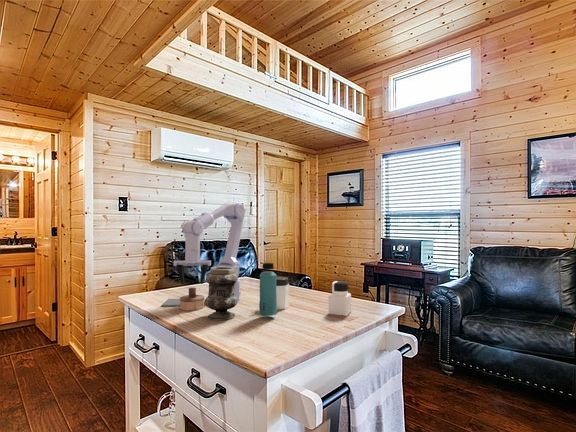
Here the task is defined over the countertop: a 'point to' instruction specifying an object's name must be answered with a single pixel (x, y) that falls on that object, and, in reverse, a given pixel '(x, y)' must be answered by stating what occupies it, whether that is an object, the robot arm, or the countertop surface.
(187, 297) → the lid
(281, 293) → the jar
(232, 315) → the apothecary jar
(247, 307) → the countertop surface
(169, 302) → the mat
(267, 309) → the beverage bottle
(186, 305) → the bowl
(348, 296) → the medicine bottle
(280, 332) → the countertop surface
